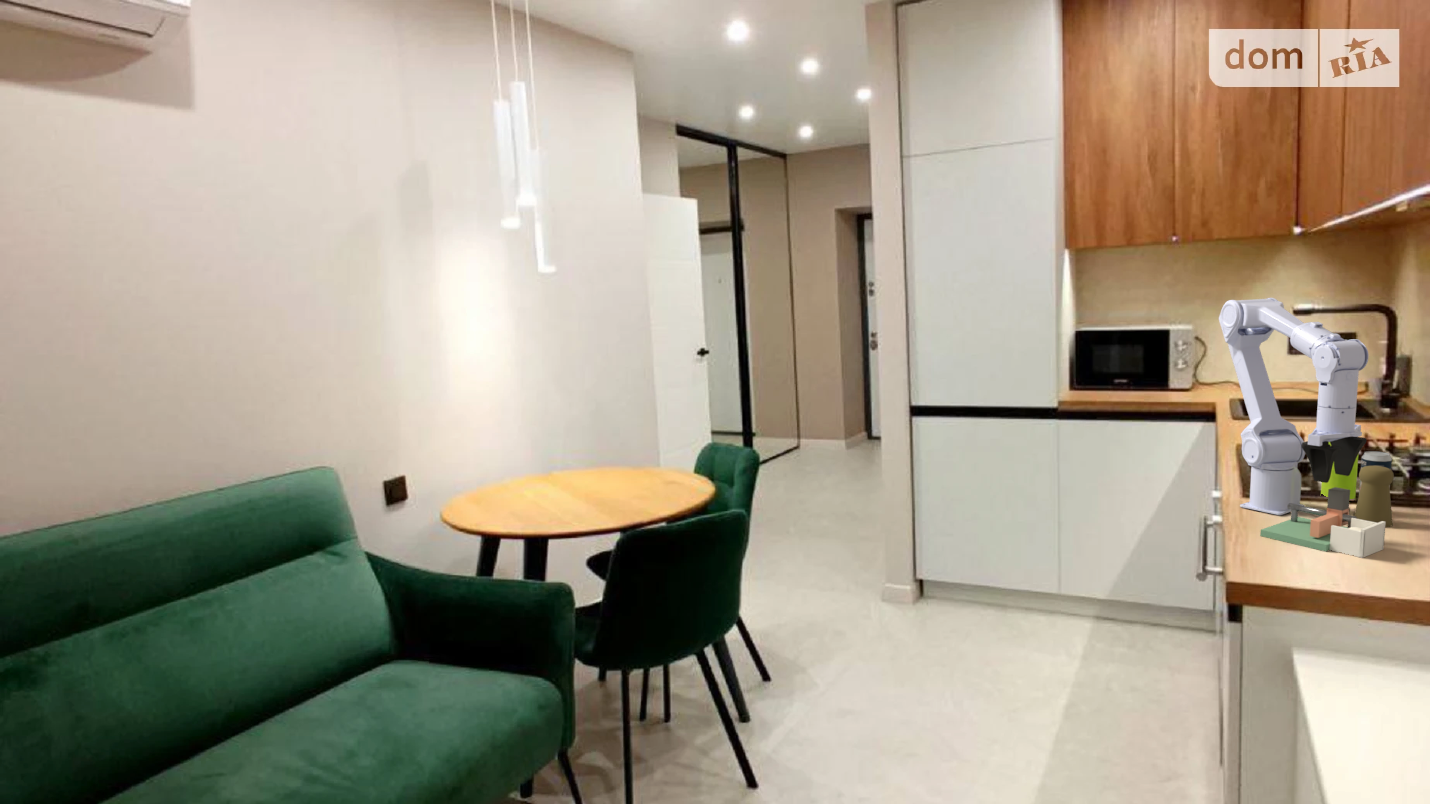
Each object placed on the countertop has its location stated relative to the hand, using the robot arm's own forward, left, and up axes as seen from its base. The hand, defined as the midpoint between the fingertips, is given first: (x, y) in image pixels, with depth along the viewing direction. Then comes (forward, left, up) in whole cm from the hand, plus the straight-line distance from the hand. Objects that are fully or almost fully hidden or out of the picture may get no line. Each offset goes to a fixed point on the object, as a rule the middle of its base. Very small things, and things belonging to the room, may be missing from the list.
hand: (1331, 478), depth 155 cm
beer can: (-19, -1, -11) cm, 22 cm away
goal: (+7, +8, -10) cm, 14 cm away
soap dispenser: (-24, -10, -11) cm, 28 cm away
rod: (+2, 0, -9) cm, 9 cm away
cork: (-12, +2, -11) cm, 16 cm away
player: (+5, +2, -9) cm, 10 cm away
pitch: (+5, 0, -10) cm, 12 cm away
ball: (+7, +7, -8) cm, 13 cm away
